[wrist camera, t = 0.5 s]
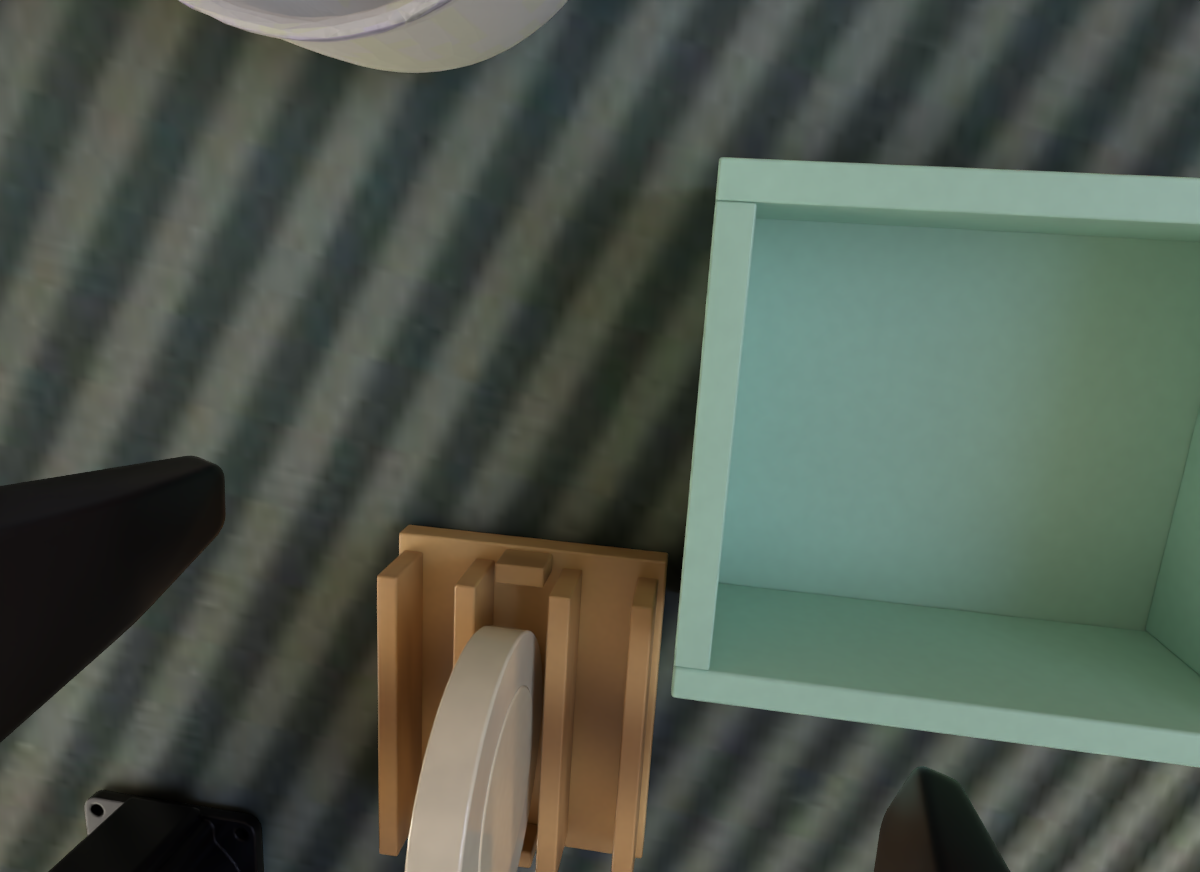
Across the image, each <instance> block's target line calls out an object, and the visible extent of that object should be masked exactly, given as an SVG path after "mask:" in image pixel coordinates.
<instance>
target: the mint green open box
mask: <svg viewBox="0 0 1200 872" xmlns="http://www.w3.org/2000/svg"><path fill="white" fill-rule="evenodd" d="M671 694H672V696H673V697H675V698H682V699H689V700H697V701H704V702H712V703H719V704H727V705H734V706H742V707H750V708H757V709H765V710H772V711H780V712H787V713H795V714H802V715H810V716H817V717H825V718H832V719H840V720H847V721H855V722H862V723H870V724H877V725H885V726H892V727H900V728H907V729H915V730H922V731H930V732H937V733H945V734H952V735H960V736H967V737H975V738H982V739H990V740H997V741H1005V742H1012V743H1020V744H1027V745H1035V746H1042V747H1050V748H1057V749H1065V750H1072V751H1080V752H1087V753H1095V754H1102V755H1110V756H1117V757H1125V758H1132V759H1140V760H1147V761H1155V762H1162V763H1170V764H1177V765H1185V766H1192V767H1200V178H1191V177H1168V176H1145V175H1122V174H1099V173H1076V172H1053V171H1030V170H1007V169H984V168H961V167H938V166H915V165H892V164H869V163H846V162H823V161H800V160H777V159H754V158H731V157H721V158H720V159H719V166H718V177H717V189H716V201H715V211H714V222H713V233H712V244H711V255H710V266H709V277H708V288H707V299H706V310H705V321H704V332H703V344H702V355H701V366H700V377H699V388H698V399H697V410H696V421H695V432H694V443H693V454H692V465H691V476H690V487H689V499H688V510H687V521H686V532H685V543H684V554H683V565H682V576H681V587H680V598H679V609H678V620H677V631H676V642H675V654H674V665H673V676H672V687H671Z"/></svg>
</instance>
